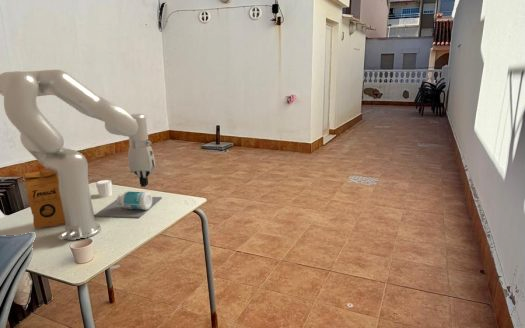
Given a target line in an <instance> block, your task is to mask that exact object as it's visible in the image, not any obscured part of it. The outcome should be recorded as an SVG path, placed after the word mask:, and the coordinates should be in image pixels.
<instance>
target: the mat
mask: <svg viewBox="0 0 525 328" xmlns="http://www.w3.org/2000/svg"><path fill="white" fill-rule="evenodd" d="M162 198H163V197H162V196H152V205H151V207H150V208H149V209H148V210H140V209H126V208H124V207H123V206H122V205H119V204H118V203H117V199H115V200H113V202H111V203H109V204H108V205H107V206H105V207H104V208H102V209H101V210H99V211H98V212H96V213H94V218H96V217H97V218H98V217H99V218H100V217H101V218H126V219H127V218H128V219H129V218H130V219H140V218H142V217H143V215H145V214H146V213H147V212H148V211H149V210H150V209H152V208H153V207H154V206H155V205H156V204H157V203H159V202H160V201H161V200H162Z"/></svg>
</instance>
